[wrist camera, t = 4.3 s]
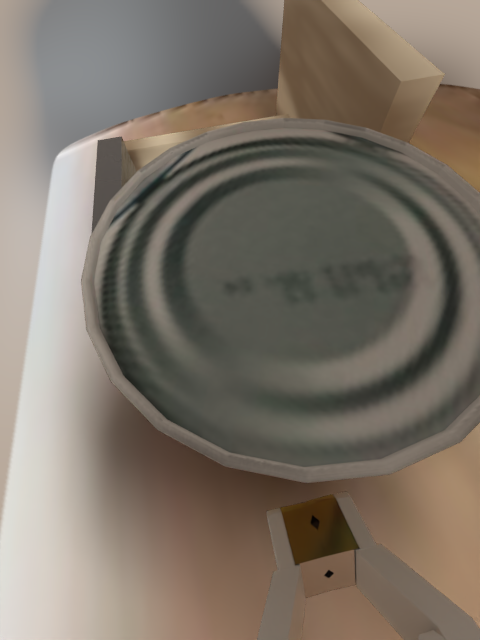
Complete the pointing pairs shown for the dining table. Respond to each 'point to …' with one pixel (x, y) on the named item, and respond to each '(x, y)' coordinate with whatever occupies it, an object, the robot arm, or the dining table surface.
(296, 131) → the canned food
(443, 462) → the dining table surface
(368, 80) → the shelf wall
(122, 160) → the bookend
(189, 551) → the dining table surface
